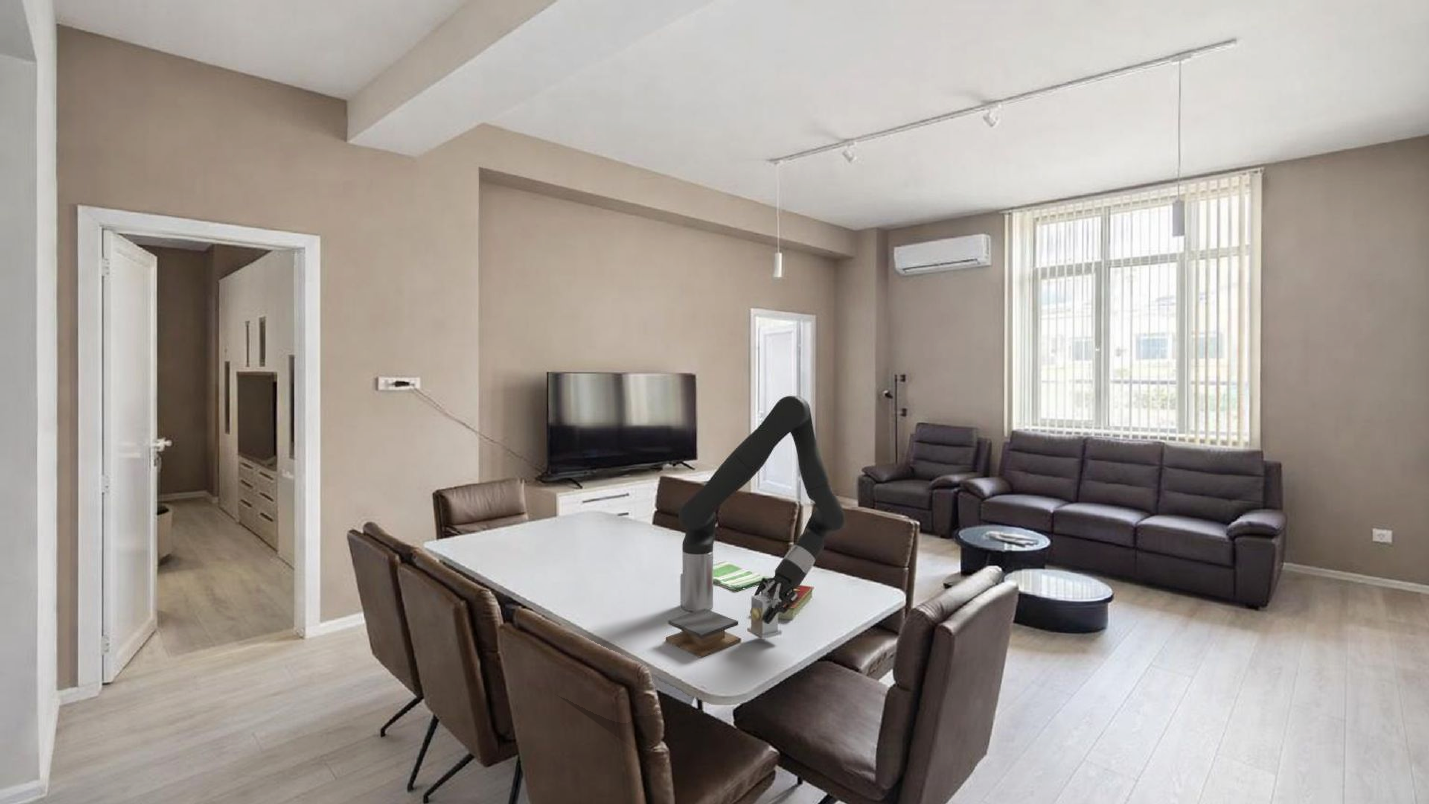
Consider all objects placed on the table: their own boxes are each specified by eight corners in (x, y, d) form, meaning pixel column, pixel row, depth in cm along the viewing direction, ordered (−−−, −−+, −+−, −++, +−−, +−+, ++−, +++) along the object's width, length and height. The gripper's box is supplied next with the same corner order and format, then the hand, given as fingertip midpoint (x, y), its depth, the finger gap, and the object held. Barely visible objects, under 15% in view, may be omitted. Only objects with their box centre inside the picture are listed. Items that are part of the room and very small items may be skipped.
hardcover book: (754, 615, 193) (754, 601, 193) (777, 594, 212) (777, 581, 212) (793, 622, 188) (793, 607, 188) (813, 599, 208) (813, 586, 207)
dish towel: (736, 594, 213) (736, 585, 212) (689, 577, 230) (689, 569, 230) (773, 582, 225) (773, 574, 225) (726, 567, 242) (726, 559, 242)
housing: (746, 631, 175) (746, 596, 174) (766, 626, 178) (767, 591, 178) (760, 639, 169) (761, 603, 169) (781, 634, 173) (781, 599, 173)
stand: (665, 640, 174) (665, 620, 174) (704, 626, 184) (704, 607, 183) (701, 657, 164) (701, 635, 164) (740, 641, 173) (740, 621, 173)
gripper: (771, 551, 183) (735, 602, 177) (805, 564, 171) (767, 619, 165) (786, 567, 186) (750, 617, 180) (820, 581, 174) (783, 635, 168)
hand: (758, 618), depth 173 cm, fingers closed on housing, 5 cm apart
